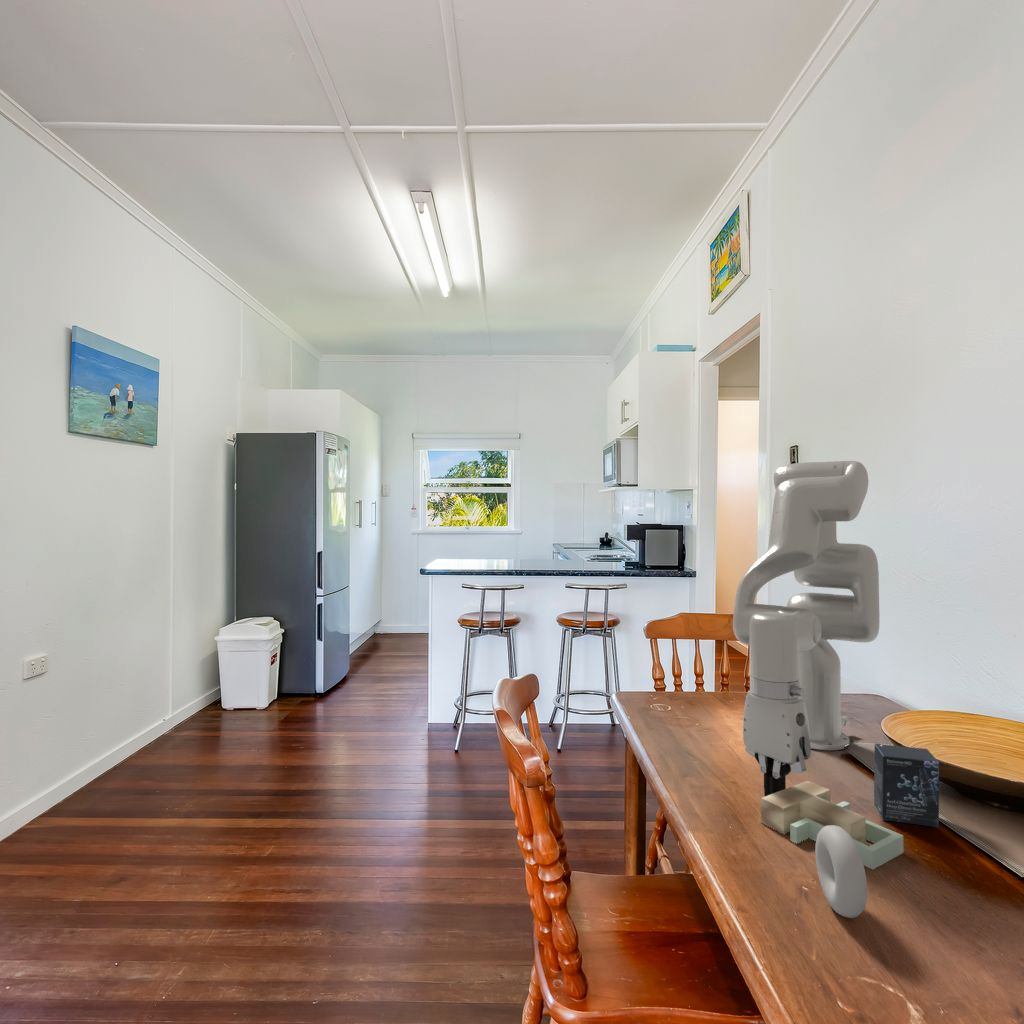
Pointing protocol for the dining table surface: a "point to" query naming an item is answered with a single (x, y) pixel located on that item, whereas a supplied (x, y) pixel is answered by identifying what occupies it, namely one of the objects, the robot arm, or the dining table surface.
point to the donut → (841, 871)
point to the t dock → (872, 856)
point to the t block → (809, 810)
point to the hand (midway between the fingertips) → (774, 797)
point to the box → (906, 785)
